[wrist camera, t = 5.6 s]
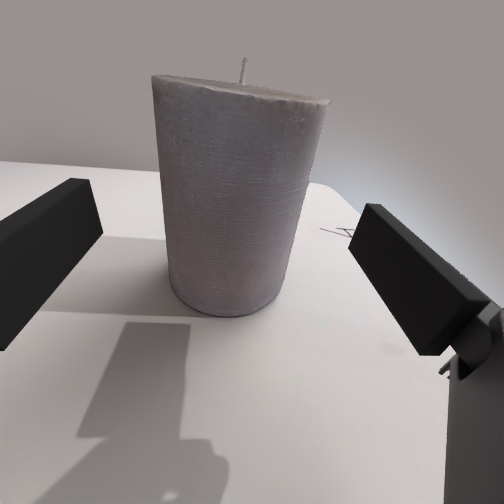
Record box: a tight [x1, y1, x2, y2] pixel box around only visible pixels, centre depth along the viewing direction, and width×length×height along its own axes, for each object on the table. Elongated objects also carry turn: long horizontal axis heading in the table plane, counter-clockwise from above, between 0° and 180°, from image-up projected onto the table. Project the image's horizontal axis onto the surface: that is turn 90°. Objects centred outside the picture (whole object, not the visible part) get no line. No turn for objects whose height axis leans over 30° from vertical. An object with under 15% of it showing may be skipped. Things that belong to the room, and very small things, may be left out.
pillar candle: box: [152, 58, 331, 317], centre depth 17 cm, size 10×10×15 cm
